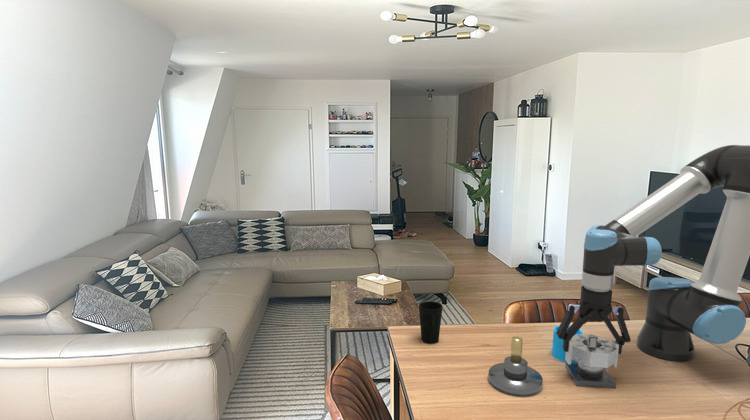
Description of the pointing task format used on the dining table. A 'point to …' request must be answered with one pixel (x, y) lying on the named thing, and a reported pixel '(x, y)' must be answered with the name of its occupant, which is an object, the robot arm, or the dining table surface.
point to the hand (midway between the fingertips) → (590, 363)
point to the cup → (430, 321)
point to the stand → (590, 372)
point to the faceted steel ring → (593, 352)
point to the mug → (560, 346)
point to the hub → (515, 374)
